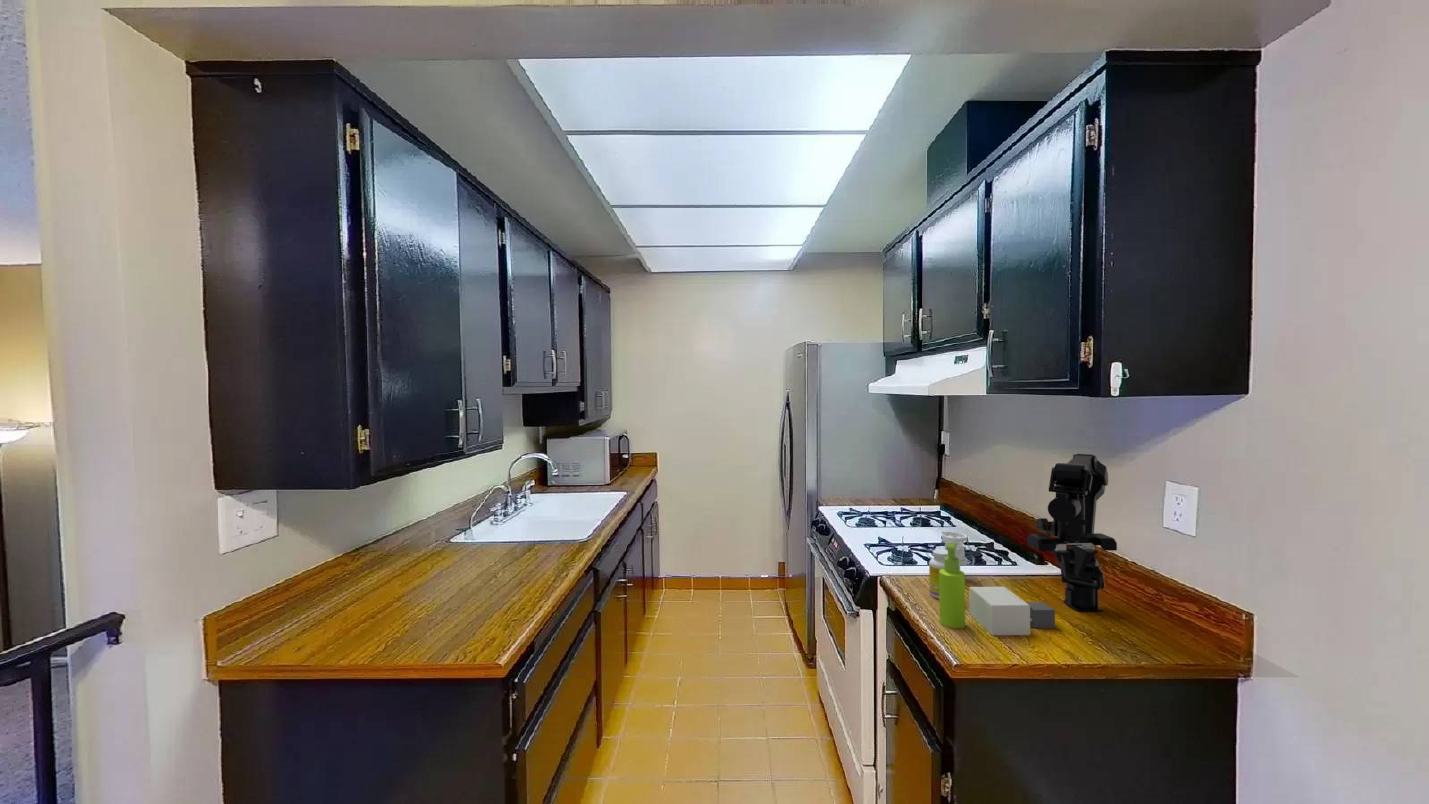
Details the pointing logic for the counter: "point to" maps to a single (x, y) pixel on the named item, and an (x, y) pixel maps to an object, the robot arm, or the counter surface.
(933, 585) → the supplement bottle
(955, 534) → the white tall piece
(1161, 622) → the counter surface
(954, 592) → the soap dispenser
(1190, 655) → the counter surface
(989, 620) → the light grey rectangular block
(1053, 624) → the plug
